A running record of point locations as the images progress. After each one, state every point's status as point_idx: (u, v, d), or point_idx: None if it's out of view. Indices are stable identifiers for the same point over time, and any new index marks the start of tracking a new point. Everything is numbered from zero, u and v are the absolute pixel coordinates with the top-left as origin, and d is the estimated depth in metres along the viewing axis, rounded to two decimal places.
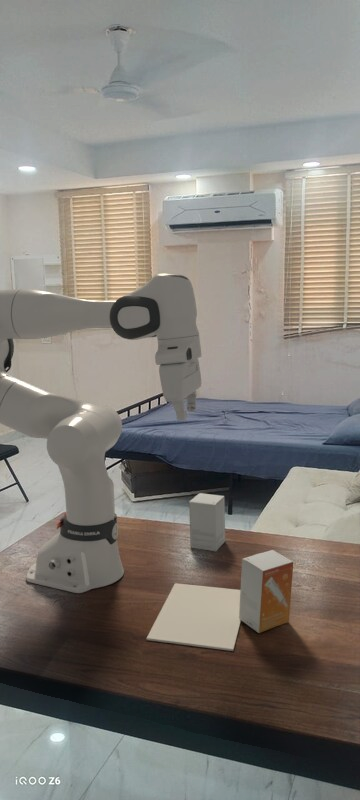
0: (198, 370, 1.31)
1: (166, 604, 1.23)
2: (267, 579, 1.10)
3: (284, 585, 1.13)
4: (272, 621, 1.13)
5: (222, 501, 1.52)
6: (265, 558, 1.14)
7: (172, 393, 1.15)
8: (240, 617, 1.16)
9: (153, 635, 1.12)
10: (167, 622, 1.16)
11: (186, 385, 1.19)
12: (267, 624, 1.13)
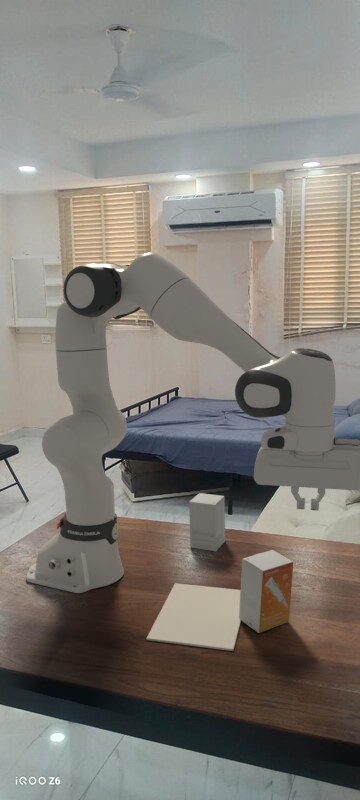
0: (352, 470, 1.05)
1: (166, 604, 1.23)
2: (267, 579, 1.10)
3: (284, 585, 1.13)
4: (272, 621, 1.13)
5: (222, 501, 1.52)
6: (265, 558, 1.14)
7: None
8: (240, 617, 1.16)
9: (153, 635, 1.12)
10: (167, 622, 1.16)
11: (281, 474, 1.09)
12: (267, 624, 1.13)
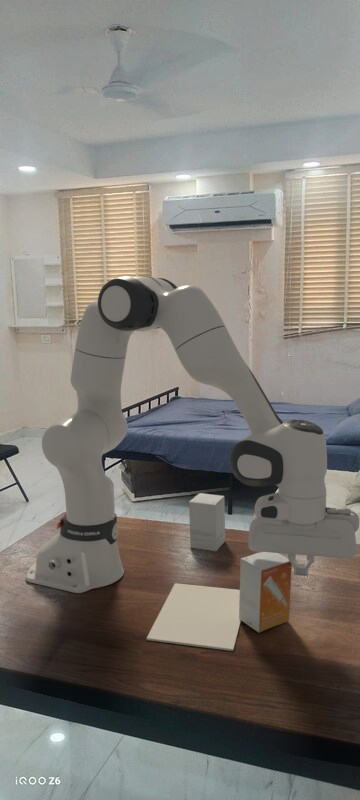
0: (344, 539, 1.08)
1: (166, 604, 1.23)
2: (265, 579, 1.10)
3: (283, 584, 1.13)
4: (272, 620, 1.13)
5: (222, 501, 1.52)
6: (264, 558, 1.14)
7: None
8: (240, 617, 1.16)
9: (153, 635, 1.12)
10: (167, 622, 1.16)
11: (274, 541, 1.11)
12: (267, 624, 1.13)
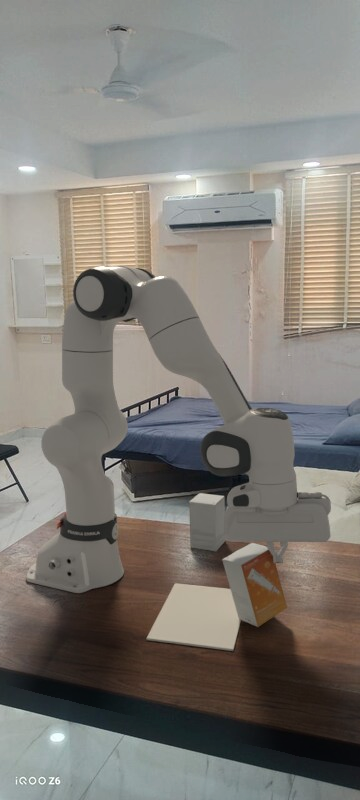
0: (316, 522, 1.09)
1: (166, 604, 1.23)
2: (248, 572, 1.11)
3: (270, 573, 1.14)
4: (268, 611, 1.13)
5: (222, 501, 1.52)
6: (244, 552, 1.15)
7: None
8: (239, 617, 1.16)
9: (153, 635, 1.12)
10: (167, 622, 1.16)
11: (249, 530, 1.12)
12: (264, 616, 1.12)
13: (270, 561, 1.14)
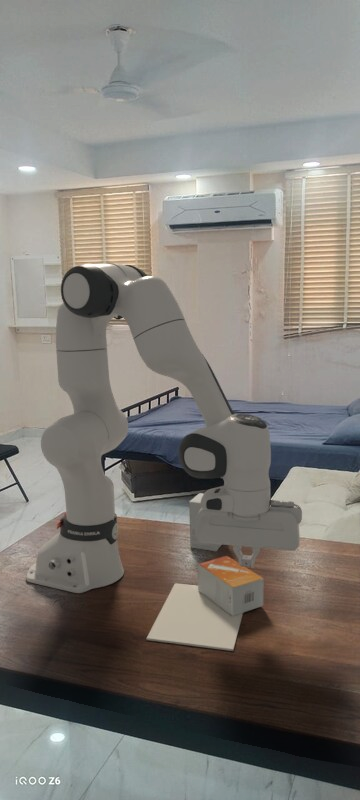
0: (286, 531, 1.10)
1: (166, 604, 1.23)
2: (207, 565, 1.26)
3: (232, 565, 1.27)
4: (241, 580, 1.20)
5: None
6: None
7: None
8: (231, 612, 1.18)
9: (153, 635, 1.12)
10: (167, 622, 1.16)
11: (220, 533, 1.14)
12: (236, 582, 1.19)
13: (229, 560, 1.29)
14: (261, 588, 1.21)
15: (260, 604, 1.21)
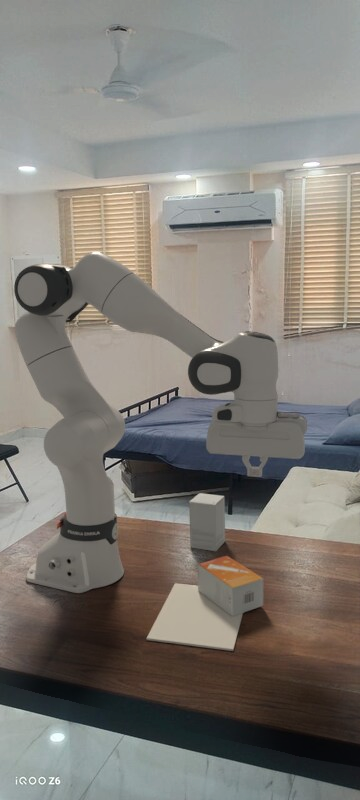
0: (292, 440, 1.18)
1: (166, 604, 1.23)
2: (207, 565, 1.26)
3: (231, 565, 1.26)
4: (241, 580, 1.20)
5: (222, 501, 1.52)
6: None
7: None
8: (230, 613, 1.18)
9: (153, 635, 1.12)
10: (167, 622, 1.16)
11: (230, 443, 1.21)
12: (236, 583, 1.19)
13: (229, 560, 1.29)
14: (261, 588, 1.20)
15: (260, 604, 1.21)
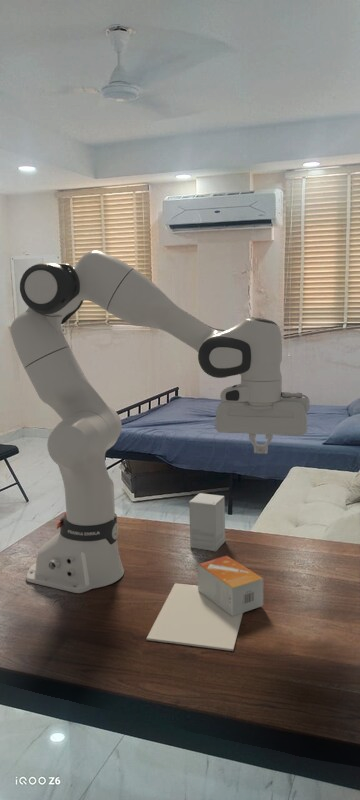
0: (296, 418, 1.26)
1: (166, 604, 1.23)
2: (207, 565, 1.26)
3: (231, 565, 1.26)
4: (241, 580, 1.20)
5: (222, 501, 1.52)
6: None
7: None
8: (230, 613, 1.18)
9: (153, 635, 1.12)
10: (167, 622, 1.16)
11: (237, 422, 1.29)
12: (236, 583, 1.19)
13: (229, 560, 1.29)
14: (261, 588, 1.20)
15: (260, 604, 1.21)
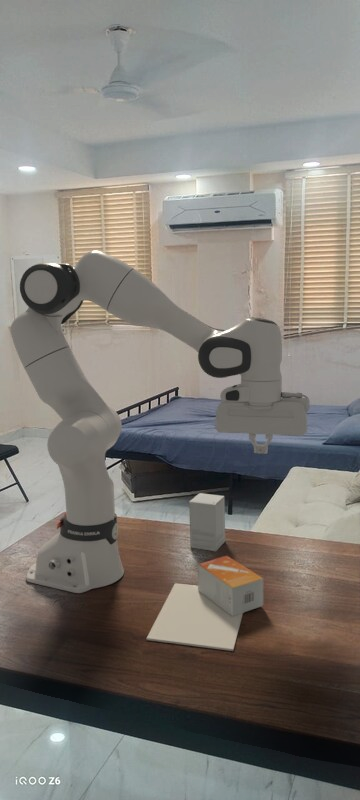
0: (296, 418, 1.26)
1: (166, 604, 1.23)
2: (207, 565, 1.26)
3: (231, 565, 1.26)
4: (241, 580, 1.20)
5: (222, 501, 1.52)
6: None
7: None
8: (230, 613, 1.18)
9: (153, 635, 1.12)
10: (167, 622, 1.16)
11: (237, 422, 1.29)
12: (236, 583, 1.19)
13: (229, 560, 1.29)
14: (261, 588, 1.20)
15: (260, 604, 1.21)
